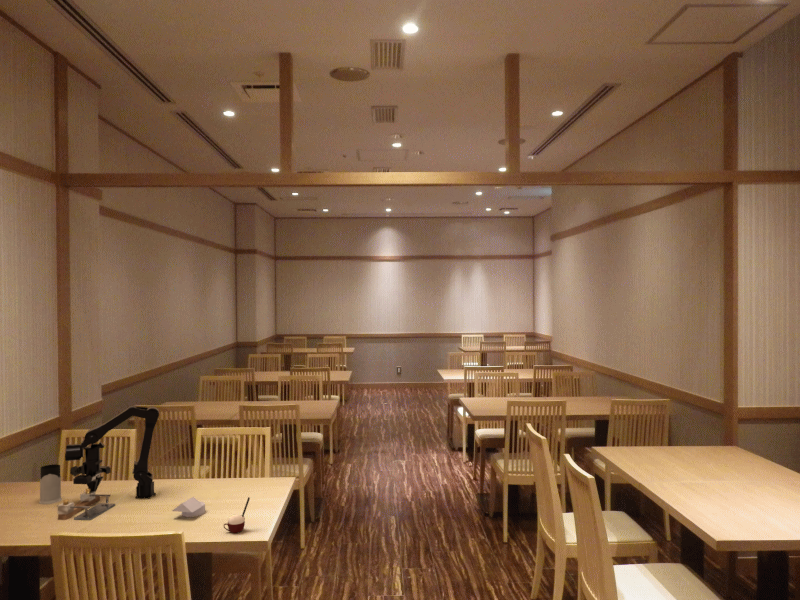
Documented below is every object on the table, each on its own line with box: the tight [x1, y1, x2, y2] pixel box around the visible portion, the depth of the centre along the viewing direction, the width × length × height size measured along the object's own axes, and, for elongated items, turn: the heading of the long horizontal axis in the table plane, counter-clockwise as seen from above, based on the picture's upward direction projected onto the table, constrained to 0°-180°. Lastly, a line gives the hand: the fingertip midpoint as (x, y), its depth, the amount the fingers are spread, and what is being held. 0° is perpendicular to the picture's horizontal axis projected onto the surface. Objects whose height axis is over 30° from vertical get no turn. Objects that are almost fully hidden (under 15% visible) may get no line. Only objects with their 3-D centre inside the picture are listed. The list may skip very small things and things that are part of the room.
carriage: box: [79, 487, 111, 503], centre depth 260 cm, size 12×4×6 cm, turn 86°
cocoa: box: [223, 496, 250, 534], centre depth 229 cm, size 10×6×12 cm, turn 87°
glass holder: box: [38, 464, 63, 505], centre depth 268 cm, size 9×14×15 cm, turn 25°
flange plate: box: [73, 502, 116, 521], centre depth 251 cm, size 7×18×1 cm, turn 176°
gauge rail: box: [57, 496, 101, 521], centre depth 254 cm, size 12×24×7 cm, turn 176°
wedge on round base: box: [171, 496, 206, 518], centre depth 247 cm, size 9×7×13 cm
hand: (92, 494), depth 264 cm, fingers closed
